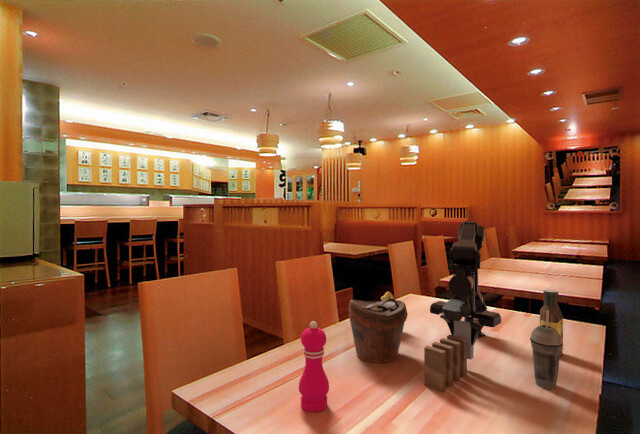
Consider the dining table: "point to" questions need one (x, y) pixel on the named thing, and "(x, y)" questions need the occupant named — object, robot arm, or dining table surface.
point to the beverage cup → (546, 354)
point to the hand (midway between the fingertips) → (463, 342)
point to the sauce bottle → (552, 312)
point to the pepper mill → (313, 370)
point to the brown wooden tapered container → (377, 328)
